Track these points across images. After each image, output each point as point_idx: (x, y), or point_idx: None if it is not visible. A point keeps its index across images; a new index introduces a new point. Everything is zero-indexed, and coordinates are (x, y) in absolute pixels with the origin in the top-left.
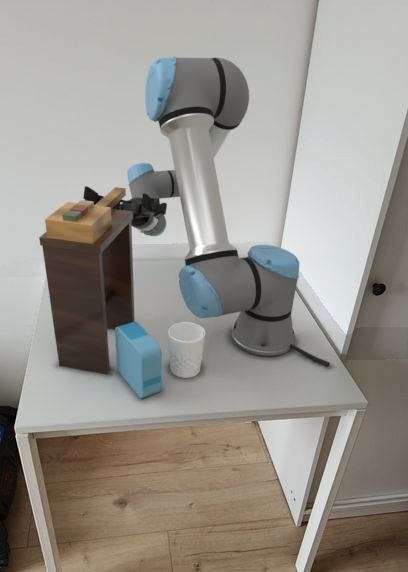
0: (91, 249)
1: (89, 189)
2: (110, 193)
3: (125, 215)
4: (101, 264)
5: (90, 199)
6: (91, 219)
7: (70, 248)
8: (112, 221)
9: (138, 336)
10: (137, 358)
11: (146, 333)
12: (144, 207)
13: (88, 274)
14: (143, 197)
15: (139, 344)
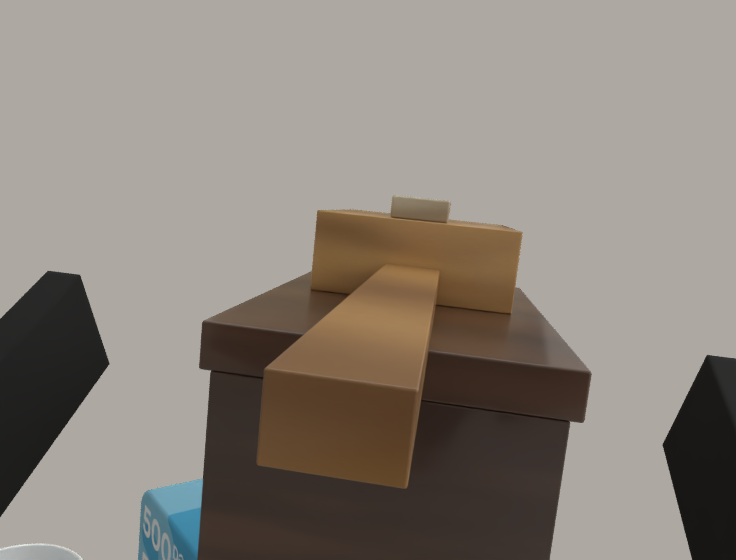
0: None
1: (715, 409)
2: (406, 325)
3: (251, 309)
4: None
5: (693, 531)
6: (364, 211)
7: None
8: (313, 297)
9: (200, 510)
10: None
11: (173, 518)
12: (58, 418)
13: None
14: (79, 304)
15: (200, 491)
